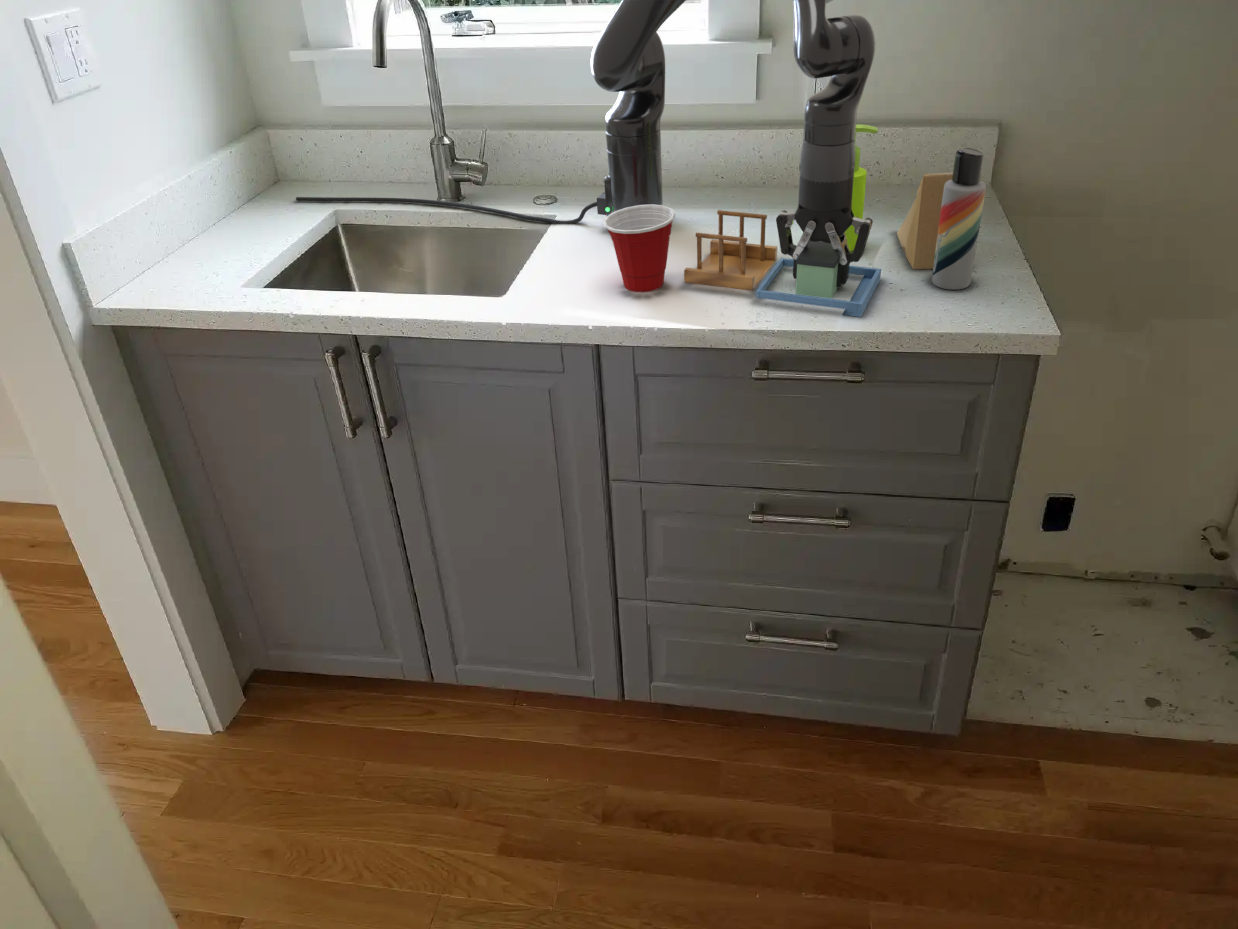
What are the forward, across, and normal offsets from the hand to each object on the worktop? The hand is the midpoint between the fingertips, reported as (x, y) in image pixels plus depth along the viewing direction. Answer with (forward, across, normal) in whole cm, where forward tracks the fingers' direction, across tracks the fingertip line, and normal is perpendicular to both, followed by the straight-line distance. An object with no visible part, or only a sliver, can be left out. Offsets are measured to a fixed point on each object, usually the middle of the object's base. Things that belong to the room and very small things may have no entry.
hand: (819, 282), depth 146 cm
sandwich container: (+2, -13, -21) cm, 25 cm away
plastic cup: (+2, +26, +7) cm, 27 cm away
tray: (+1, 0, 0) cm, 1 cm away
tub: (+1, 0, 0) cm, 1 cm away
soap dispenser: (+2, 0, -17) cm, 17 cm away
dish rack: (+1, +15, -2) cm, 15 cm away
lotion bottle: (+2, -18, -9) cm, 20 cm away
